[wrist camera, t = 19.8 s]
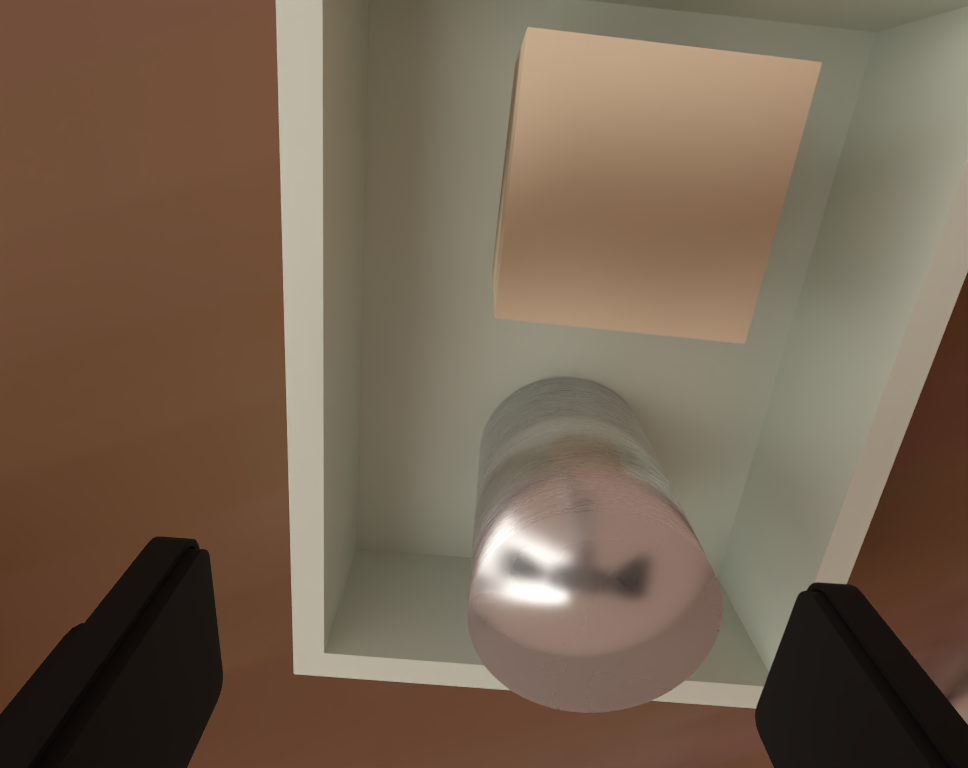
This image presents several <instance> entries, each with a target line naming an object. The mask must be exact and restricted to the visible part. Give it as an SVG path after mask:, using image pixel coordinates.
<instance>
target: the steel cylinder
mask: <svg viewBox="0 0 968 768" xmlns="http://www.w3.org/2000/svg"><path fill="white" fill-rule="evenodd" d="M722 613H723V607H722V595H721V590H720V586H719V583H718V580H717V578H716V575H715V573H714V571H713V569H712V567H711V565H710V563H709V560H708V558H707V556H706V554H705V552H704V550H703V548H702V546H701V544H700V542H699V540H698V538H697V536H696V534H695V532H694V530H693V528H692V526H691V524H690V522H689V520H688V518H687V516H686V514H685V512H684V510H683V508H682V506H681V504H680V502H679V500H678V498H677V496H676V494H675V492H674V490H673V488H672V486H671V484H670V482H669V480H668V478H667V476H666V474H665V472H664V470H663V468H662V466H661V464H660V462H659V460H658V458H657V456H656V454H655V452H654V450H653V448H652V446H651V444H650V442H649V440H648V438H647V436H646V434H645V432H644V430H643V428H642V426H641V424H640V422H639V420H638V418H637V417H636V415H635V413H634V412H633V410H632V409H631V408H630V406H629V405H628V404H627V403H626V402H625V401H624V400H623V399H622V398H621V397H620V396H619V395H618V394H616V393H615V392H613V391H612V390H610V389H609V388H607V387H605V386H603V385H601V384H598V383H596V382H593V381H590V380H586V379H581V378H573V377H555V378H549V379H543V380H540V381H536V382H533V383H531V384H528V385H526V386H524V387H522V388H520V389H519V390H517V391H515V392H514V393H512V394H511V395H510V396H508V397H507V398H506V399H505V400H504V401H503V402H502V403H501V404H500V405H499V406H498V407H497V408H496V409H495V411H494V412H493V413H492V415H491V416H490V418H489V420H488V421H487V423H486V426H485V428H484V431H483V434H482V438H481V443H480V454H479V468H478V481H477V494H476V507H475V520H474V534H473V547H472V560H471V573H470V586H469V599H468V613H467V617H468V629H469V633H470V637H471V641H472V643H473V646H474V648H475V651H476V653H477V655H478V656H479V658H480V660H481V661H482V663H483V664H484V666H485V667H486V668H487V669H488V670H489V672H490V673H491V674H492V675H493V676H494V677H495V678H496V679H497V680H498V681H499V682H500V683H502V684H503V685H504V686H506V687H507V688H508V689H510V690H511V691H513V692H514V693H516V694H518V695H520V696H522V697H523V698H525V699H528V700H530V701H532V702H535V703H537V704H540V705H543V706H547V707H550V708H553V709H559V710H564V711H570V712H581V713H600V712H610V711H617V710H622V709H627V708H631V707H634V706H638V705H641V704H644V703H647V702H649V701H651V700H654V699H656V698H658V697H660V696H662V695H664V694H666V693H668V692H669V691H671V690H673V689H674V688H676V687H677V686H678V685H680V684H681V683H683V682H684V681H685V680H686V679H687V678H688V677H690V676H691V675H692V674H693V673H694V672H695V671H696V670H697V669H698V667H699V666H700V665H701V664H702V663H703V662H704V660H705V659H706V657H707V656H708V654H709V653H710V651H711V650H712V648H713V645H714V643H715V641H716V639H717V637H718V633H719V630H720V626H721V621H722Z"/></svg>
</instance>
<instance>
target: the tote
mask: <svg viewBox="0 0 968 768" xmlns="http://www.w3.org/2000/svg"><path fill="white" fill-rule="evenodd" d="M276 25H277V63H278V100H279V138H280V175H281V213H282V250H283V288H284V325H285V363H286V400H287V437H288V475H289V512H290V550H291V587H292V625H293V662H294V674H300V675H313V676H327V677H340V678H354V679H367V680H381V681H394V682H407V683H421V684H434V685H448V686H461V687H475V688H488V689H502V690H510V689H508V688H507V687H506V686H504V685H503V684H502V683H500V682H499V681H498V680H497V679H496V678H495V677H494V676H493V675H492V674H491V673H490V672H489V670H488V669H487V668H486V667H485V666H484V664H483V663H482V661H481V660H480V658H479V656H478V655H477V653H476V651H475V648H474V646H473V643H472V641H471V637H470V633H469V629H468V617H467V613H468V599H469V586H470V573H471V560H472V547H473V534H474V520H475V507H476V494H477V481H478V468H479V454H480V443H481V438H482V434H483V431H484V428H485V426H486V423H487V421H488V420H489V418H490V416H491V415H492V413H493V412H494V411H495V409H496V408H497V407H498V406H499V405H500V404H501V403H502V402H503V401H504V400H505V399H506V398H507V397H508V396H510V395H511V394H512V393H514V392H515V391H517V390H519V389H520V388H522V387H524V386H526V385H528V384H531V383H533V382H536V381H540V380H543V379H549V378H555V377H573V378H581V379H586V380H590V381H593V382H596V383H598V384H601V385H603V386H605V387H607V388H609V389H610V390H612V391H613V392H615V393H616V394H618V395H619V396H620V397H621V398H622V399H623V400H624V401H625V402H626V403H627V404H628V405H629V406H630V408H631V409H632V410H633V412H634V413H635V415H636V417H637V418H638V420H639V422H640V424H641V426H642V428H643V430H644V432H645V434H646V436H647V438H648V440H649V442H650V444H651V446H652V448H653V450H654V452H655V454H656V456H657V458H658V460H659V462H660V464H661V466H662V468H663V470H664V472H665V474H666V476H667V478H668V480H669V482H670V484H671V486H672V488H673V490H674V492H675V494H676V496H677V498H678V500H679V502H680V504H681V506H682V508H683V510H684V512H685V514H686V516H687V518H688V520H689V522H690V524H691V526H692V528H693V530H694V532H695V534H696V536H697V538H698V540H699V542H700V544H701V546H702V548H703V550H704V552H705V554H706V556H707V558H708V560H709V563H710V565H711V567H712V569H713V571H714V573H715V575H716V578H717V580H718V583H719V586H720V590H721V595H722V607H723V613H722V621H721V626H720V630H719V633H718V637H717V639H716V641H715V643H714V645H713V648H712V650H711V651H710V653H709V654H708V656H707V657H706V659H705V660H704V662H703V663H702V664H701V665H700V666H699V667H698V669H697V670H696V671H695V672H694V673H693V674H692V675H691V676H690V677H688V678H687V679H686V680H685V681H684V682H683V683H681V684H680V685H678V686H677V687H676V688H674V689H673V690H671V691H669V692H668V693H666V694H664V695H662V696H660V697H658V698H656V699H654V700H651V701H663V702H676V703H690V704H703V705H717V706H730V707H743V708H756V707H757V704H758V701H759V698H760V696H761V693H762V690H763V687H764V685H765V682H766V679H767V677H768V674H769V671H770V669H771V666H772V663H773V661H774V658H775V655H776V652H777V650H778V647H779V644H780V642H781V639H782V636H783V634H784V631H785V628H786V625H787V623H788V620H789V617H790V615H791V612H792V609H793V607H794V604H795V601H796V599H797V596H798V595H799V593H800V592H802V591H807V589H808V587H809V586H810V585H811V584H812V583H816V582H821V583H835V584H847V582H848V579H849V577H850V574H851V572H852V569H853V566H854V564H855V561H856V559H857V556H858V554H859V551H860V548H861V546H862V543H863V541H864V538H865V535H866V533H867V530H868V528H869V525H870V523H871V520H872V517H873V515H874V512H875V510H876V507H877V504H878V502H879V499H880V497H881V494H882V492H883V489H884V486H885V484H886V481H887V479H888V476H889V473H890V471H891V468H892V466H893V463H894V461H895V458H896V455H897V453H898V450H899V448H900V445H901V442H902V440H903V437H904V435H905V432H906V430H907V427H908V424H909V422H910V419H911V417H912V414H913V411H914V409H915V406H916V404H917V401H918V399H919V396H920V393H921V391H922V388H923V386H924V383H925V380H926V378H927V375H928V373H929V370H930V368H931V365H932V362H933V360H934V357H935V355H936V352H937V349H938V347H939V344H940V342H941V339H942V337H943V334H944V331H945V329H946V326H947V324H948V321H949V318H950V316H951V313H952V311H953V308H954V306H955V303H956V300H957V298H958V295H959V293H960V290H961V287H962V285H963V282H964V280H965V277H966V275H967V272H968V0H276ZM528 27H533V28H541V29H550V30H558V31H566V32H575V33H583V34H591V35H600V36H608V37H616V38H625V39H633V40H641V41H650V42H658V43H666V44H675V45H683V46H692V47H700V48H708V49H717V50H725V51H733V52H742V53H750V54H758V55H767V56H775V57H783V58H792V59H800V60H808V61H817V62H822V65H821V69H820V73H819V76H818V80H817V83H816V87H815V91H814V94H813V98H812V102H811V105H810V109H809V113H808V116H807V120H806V123H805V127H804V131H803V134H802V138H801V142H800V145H799V149H798V153H797V156H796V160H795V163H794V167H793V171H792V174H791V178H790V182H789V185H788V189H787V193H786V196H785V200H784V203H783V207H782V211H781V214H780V218H779V222H778V225H777V229H776V233H775V236H774V240H773V243H772V247H771V251H770V254H769V258H768V262H767V265H766V269H765V273H764V276H763V280H762V283H761V287H760V291H759V294H758V298H757V302H756V305H755V309H754V313H753V316H752V320H751V323H750V327H749V331H748V334H747V338H746V342H745V344H741V343H731V342H721V341H712V340H702V339H692V338H683V337H673V336H663V335H653V334H644V333H634V332H624V331H615V330H605V329H595V328H586V327H576V326H566V325H556V324H547V323H537V322H527V321H518V320H508V319H498V318H494V297H493V274H492V267H493V258H494V249H495V240H496V231H497V222H498V213H499V204H500V195H501V186H502V176H503V167H504V158H505V149H506V140H507V131H508V122H509V113H510V104H511V95H512V86H513V77H514V68H515V62H516V59H517V56H518V53H519V51H520V48H521V45H522V42H523V39H524V36H525V33H526V31H527V28H528Z"/></svg>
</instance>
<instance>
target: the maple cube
mask: <svg viewBox="0 0 968 768" xmlns="http://www.w3.org/2000/svg"><path fill="white" fill-rule="evenodd" d="M821 65H822V62H817V61H808V60H800V59H792V58H783V57H775V56H767V55H758V54H750V53H742V52H733V51H725V50H717V49H708V48H700V47H692V46H683V45H675V44H666V43H658V42H650V41H641V40H633V39H625V38H616V37H608V36H600V35H591V34H583V33H575V32H566V31H558V30H550V29H541V28H533V27H528V28H527V31H526V33H525V36H524V39H523V42H522V45H521V48H520V51H519V53H518V56H517V59H516V62H515V68H514V77H513V86H512V95H511V104H510V113H509V122H508V131H507V140H506V149H505V158H504V167H503V176H502V186H501V195H500V204H499V213H498V222H497V231H496V240H495V249H494V258H493V267H492V274H493V297H494V318H498V319H508V320H518V321H527V322H537V323H547V324H556V325H566V326H576V327H586V328H595V329H605V330H615V331H624V332H634V333H644V334H653V335H663V336H673V337H683V338H692V339H702V340H712V341H721V342H731V343H741V344H745V342H746V338H747V334H748V331H749V327H750V323H751V320H752V316H753V313H754V309H755V305H756V302H757V298H758V294H759V291H760V287H761V283H762V280H763V276H764V273H765V269H766V265H767V262H768V258H769V254H770V251H771V247H772V243H773V240H774V236H775V233H776V229H777V225H778V222H779V218H780V214H781V211H782V207H783V203H784V200H785V196H786V193H787V189H788V185H789V182H790V178H791V174H792V171H793V167H794V163H795V160H796V156H797V153H798V149H799V145H800V142H801V138H802V134H803V131H804V127H805V123H806V120H807V116H808V113H809V109H810V105H811V102H812V98H813V94H814V91H815V87H816V83H817V80H818V76H819V73H820V69H821Z"/></svg>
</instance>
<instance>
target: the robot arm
mask: <svg viewBox="0 0 968 768" xmlns="http://www.w3.org/2000/svg"><path fill="white" fill-rule="evenodd" d="M222 682H223V670H222V661H221V653H220V644H219V635H218V626H217V617H216V608H215V600H214V591H213V582H212V573H211V564H210V556H209V553H208V551H207V550H205V549H199V545H198V543H197V541H196V540H194V539H186V538H172V537H155V538H153V539H152V540H151V541H150V542H149V543H148V544H147V545H146V546H145V548H144V549H143V550H142V551H141V553H140V554H139V555H138V556H137V558H136V559H135V560H134V561H133V563H132V564H131V565H130V567H129V568H128V569H127V570H126V572H125V573H124V574H123V575H122V577H121V578H120V579H119V580H118V582H117V583H116V584H115V585H114V587H113V588H112V589H111V590H110V592H109V593H108V594H107V595H106V597H105V598H104V599H103V600H102V602H101V603H100V604H99V605H98V607H97V608H96V609H95V610H94V612H93V613H92V614H91V615H90V617H89V618H88V619H87V620H86V622H85V623H81V624H79V625H77V626H75V627H74V628H72V629H71V630H70V631H69V632H68V633H67V634H66V635H65V636H64V637H63V638H62V640H61V641H60V642H59V643H58V644H57V646H56V647H55V648H54V649H53V651H52V652H51V653H50V654H49V656H48V657H47V658H46V659H45V660H44V662H43V663H42V664H41V665H40V667H39V668H38V669H37V670H36V671H35V673H34V674H33V675H32V676H31V678H30V679H29V680H28V681H27V682H26V684H25V685H24V686H23V687H22V689H21V690H20V691H19V692H18V694H17V695H16V696H15V697H14V698H13V700H12V701H11V702H10V703H9V705H8V706H7V707H6V708H5V709H4V711H3V712H2V713H1V714H0V768H187V766H188V764H189V762H190V760H191V757H192V755H193V753H194V751H195V749H196V747H197V744H198V742H199V740H200V738H201V736H202V734H203V731H204V729H205V727H206V725H207V723H208V720H209V718H210V716H211V714H212V712H213V710H214V707H215V705H216V703H217V701H218V698H219V695H220V692H221V688H222ZM755 719H756V726H757V730H758V732H759V735H760V737H761V740H762V742H763V744H764V746H765V748H766V751H767V753H768V755H769V757H770V760H771V762H772V764H773V766H774V768H968V725H967V723H966V722H965V721H964V720H963V718H962V717H961V716H960V715H959V713H958V712H957V711H956V710H955V708H954V707H953V706H952V705H951V703H950V702H949V701H948V700H947V698H946V697H945V696H944V695H943V693H942V692H941V691H940V690H939V688H938V687H937V686H936V685H935V684H934V682H933V681H932V680H931V679H930V677H929V676H928V675H927V674H926V672H925V671H924V670H923V669H922V667H921V666H920V665H919V664H918V662H917V661H916V660H915V659H914V657H913V656H912V655H911V654H910V652H909V651H908V650H907V649H906V647H905V646H904V645H903V644H902V642H901V641H900V640H899V639H898V637H897V636H896V635H895V634H894V632H893V631H892V630H891V629H890V627H889V626H888V625H887V624H886V622H885V621H884V620H883V619H882V617H881V616H880V615H879V614H878V613H877V611H876V610H875V609H874V608H873V606H872V605H871V604H870V603H869V601H868V600H867V599H866V598H865V596H864V595H863V594H862V593H861V591H860V590H858V589H857V588H856V587H855V586H852V585H849V584H835V583H821V582H816V583H812V584H811V585H810V586H809V587H808V589H807V591H802V592H800V593H799V595H798V596H797V599H796V601H795V604H794V607H793V609H792V612H791V615H790V617H789V620H788V623H787V625H786V628H785V631H784V634H783V636H782V639H781V642H780V644H779V647H778V650H777V652H776V655H775V658H774V661H773V663H772V666H771V669H770V671H769V674H768V677H767V679H766V682H765V685H764V687H763V690H762V693H761V696H760V698H759V701H758V704H757V707H756V712H755Z"/></svg>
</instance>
